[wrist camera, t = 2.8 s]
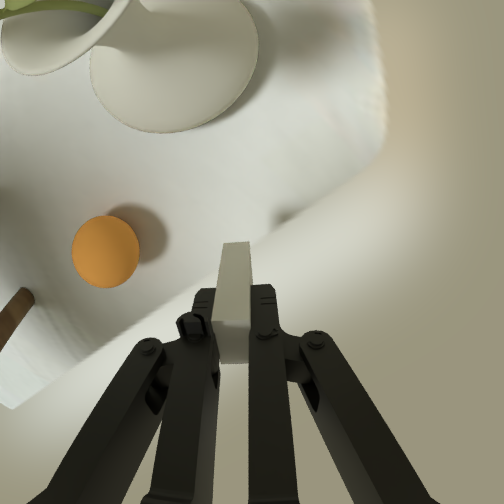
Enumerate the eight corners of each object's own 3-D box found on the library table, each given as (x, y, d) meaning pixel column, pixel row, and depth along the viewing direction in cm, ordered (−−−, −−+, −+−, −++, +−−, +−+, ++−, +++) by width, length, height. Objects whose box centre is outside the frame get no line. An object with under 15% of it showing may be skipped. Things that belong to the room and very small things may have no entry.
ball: (101, 265, 23) (75, 302, 19) (84, 209, 21) (49, 239, 16) (154, 262, 23) (135, 302, 19) (140, 200, 21) (111, 231, 16)
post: (25, 304, 26) (-11, 354, 18) (16, 287, 25) (-23, 336, 17) (37, 305, 26) (1, 358, 18) (28, 287, 25) (-12, 339, 17)
